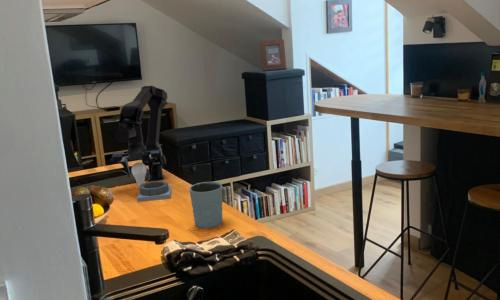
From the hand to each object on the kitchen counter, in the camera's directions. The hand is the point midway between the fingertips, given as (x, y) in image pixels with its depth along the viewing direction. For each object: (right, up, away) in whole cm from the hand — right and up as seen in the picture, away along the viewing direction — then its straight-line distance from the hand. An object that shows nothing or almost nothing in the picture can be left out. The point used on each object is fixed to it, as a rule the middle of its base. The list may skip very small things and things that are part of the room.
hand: (139, 175), depth 188 cm
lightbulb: (0, -6, +1) cm, 6 cm away
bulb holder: (+8, -7, -8) cm, 13 cm away
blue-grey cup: (+31, -13, -41) cm, 53 cm away
